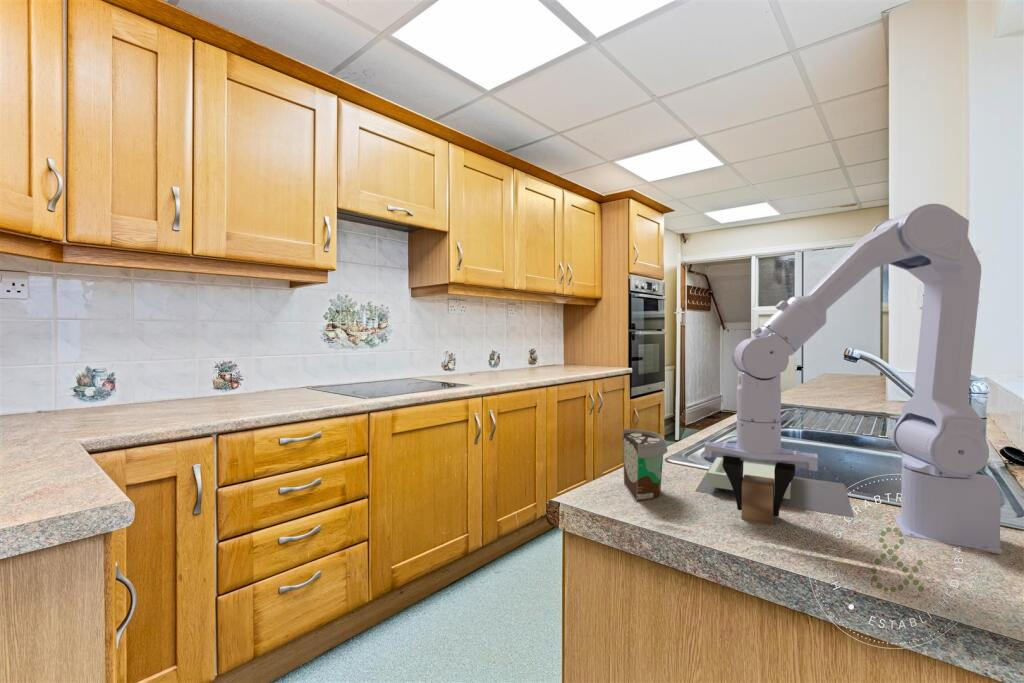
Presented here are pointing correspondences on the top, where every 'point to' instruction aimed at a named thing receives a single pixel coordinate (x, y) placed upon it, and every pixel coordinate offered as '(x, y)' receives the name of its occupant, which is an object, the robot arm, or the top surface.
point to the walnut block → (758, 499)
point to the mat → (803, 495)
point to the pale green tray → (721, 480)
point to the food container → (643, 463)
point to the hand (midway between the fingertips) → (758, 510)
